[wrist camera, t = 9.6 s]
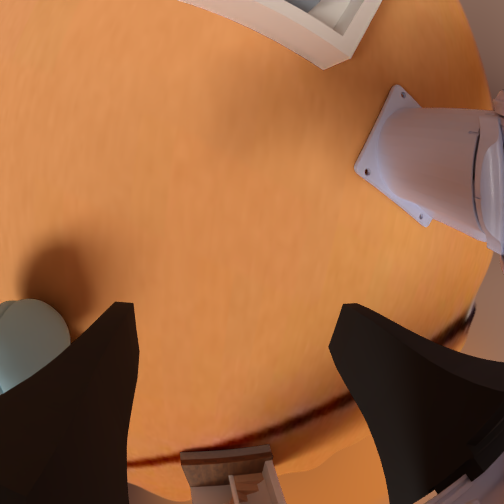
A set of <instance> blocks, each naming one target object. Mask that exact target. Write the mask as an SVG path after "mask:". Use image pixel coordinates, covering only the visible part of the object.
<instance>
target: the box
mask: <svg viewBox="0 0 504 504" xmlns="http://www.w3.org/2000/svg"><path fill="white" fill-rule="evenodd" d="M178 1H181V2H184V3H188V4H191V5H194V6H196V7H199V8H202V9H205V10H208V11H210V12H213V13H215V14H218V15H221V16H223V17H225V18H228V19H230V20H232V21H235V22H237V23H239V24H242V25H244V26H246V27H248V28H250V29H252V30H254V31H256V32H258V33H260V34H262V35H264V36H266V37H268V38H270V39H272V40H274V41H276V42H278V43H279V44H281V45H283V46H285V47H287V48H288V49H290V50H292V51H293V52H295V53H297V54H298V55H300V56H302V57H303V58H305V59H307V60H308V61H310V62H311V63H313V64H314V65H316V66H318V67H319V68H321V69H322V70H325V69H327V68H330V67H332V66H334V65H337V64H339V63H341V62H344V61H346V60H348V59H351V57H352V55H353V54H354V52H355V50H356V48H357V46H358V44H359V42H360V41H361V39H362V37H363V35H364V33H365V31H366V29H367V28H368V26H369V24H370V22H371V20H372V18H373V17H374V15H375V13H376V11H377V9H378V7H379V6H380V4H381V2H382V0H178Z"/></svg>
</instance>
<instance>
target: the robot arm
mask: <svg viewBox="0 0 504 504" xmlns="http://www.w3.org/2000/svg"><path fill="white" fill-rule="evenodd" d="M401 93H402V95H403V98H402V96H401ZM493 105H494V108H495V110H494V111H490V110H479V109H463V108H422V107H421V106H420V105H419V104H418V103H417V102H416V101H415V100H414V99H413V98H412V97H411V96H410V95H409V94H408V93H407V92H406V91H405V90H404V89H403V88H402V87H401V86H400V85H394V86H392V88H391V90H390V93H389V95H388V97H387V99H386V101H385V103H384V106H383V108H382V110H381V112H380V114H379V116H378V118H377V120H376V122H375V125H374V127H373V129H372V131H371V133H370V135H369V137H368V139H367V141H366V143H365V145H364V147H363V149H362V151H361V153H360V155H359V157H358V159H357V161H356V163H355V165H354V170H355V172H356V173H357V174H358V175H359V176H361V177H362V178H363V179H365V180H366V181H368V182H369V183H370V184H372V185H373V186H374V187H376V188H377V189H378V190H379V191H381V192H382V193H383V194H385V195H386V196H387V197H388V198H390V199H391V200H392V201H393V202H395V203H396V204H397V205H398V206H400V207H401V208H402V209H403V210H404V211H406V212H407V213H408V214H409V215H410V216H412V217H413V218H414V219H415V220H416V221H417V222H419V223H420V224H421V225H422V226H424V227H427V226H429V224H430V222H431V220H432V218H433V219H435V220H437V221H439V222H442V223H444V224H446V225H448V226H450V227H452V228H454V229H457V230H459V231H461V232H463V233H465V234H467V235H469V236H471V237H473V238H475V239H477V240H480V241H483V242H487V248H489V249H491V250H493V251H494V252H497V253H498V254H500V265H501V269H502V271H503V274H504V90H500V92H499V93H498V95H497V97H496V98H494V99H493ZM366 169H367V170H368V172H367V174H366V175H365V170H366ZM419 216H420V217H419ZM328 347H329V350H330V353H331V355H332V358H333V361H334V363H335V366H336V368H337V370H338V372H339V374H340V375H341V377H342V379H343V381H344V383H345V384H346V386H347V388H348V389H349V391H350V393H351V395H352V396H353V398H354V400H355V402H356V403H357V405H358V407H359V408H360V410H361V412H362V414H363V416H364V418H365V420H366V422H367V424H368V427H369V429H370V432H371V434H372V437H373V439H374V442H375V445H376V447H377V451H378V453H379V456H380V459H381V463H382V467H383V470H384V474H385V478H386V484H387V489H388V495H389V502H390V504H413V503H415V502H417V501H418V500H420V499H421V498H423V497H424V496H426V495H428V494H429V493H431V492H432V491H433V490H435V491H436V492H437V494H438V495H437V496H435V497H433V498H432V499H430V500H429V501H427V502H426V503H425V504H504V362H496V361H491V360H486V359H481V358H477V357H473V356H470V355H466V354H463V353H460V352H457V351H454V350H452V349H449V348H446V347H444V346H441V345H439V344H437V343H434V342H432V341H430V340H428V339H426V338H424V337H422V336H420V335H418V334H416V333H414V332H412V331H410V330H408V329H406V328H404V327H402V326H401V325H399V324H397V323H395V322H393V321H391V320H390V319H388V318H386V317H384V316H382V315H380V314H378V313H377V312H375V311H373V310H371V309H369V308H367V307H364V306H362V305H360V304H357V303H351V304H343V306H342V309H341V312H340V315H339V318H338V321H337V324H336V327H335V330H334V333H333V335H332V338H331V341H330V344H329V346H328ZM139 352H140V351H139V345H138V338H137V330H136V322H135V313H134V304H133V303H126V302H115V303H114V304H112V305H111V306H110V307H109V308H108V309H107V310H106V311H105V312H104V313H103V314H102V315H101V316H100V317H99V318H98V319H97V320H96V321H95V322H94V323H93V324H92V325H91V326H90V327H89V328H88V329H87V330H86V331H85V332H84V333H83V334H82V335H81V336H80V337H79V338H77V339H76V340H75V341H74V342H73V343H72V344H71V345H70V346H68V347H67V348H66V349H65V350H64V351H63V352H62V353H61V354H59V355H58V356H57V357H56V358H55V359H53V360H52V361H51V362H50V363H48V364H47V365H46V366H44V367H43V368H42V369H40V370H39V371H38V372H36V373H35V374H33V375H32V376H31V377H29V378H27V379H26V380H24V381H23V382H21V383H19V384H18V385H16V386H15V387H13V388H11V389H10V390H8V391H6V392H5V393H3V394H1V395H0V504H129V499H128V486H127V437H128V429H129V422H130V416H131V410H132V404H133V399H134V393H135V388H136V383H137V376H138V364H139Z"/></svg>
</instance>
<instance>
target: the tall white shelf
mask: <svg viewBox="0 0 504 504" xmlns="http://www.w3.org/2000/svg"><path fill="white" fill-rule="evenodd" d="M180 457H181V466H182V469H183V471H184V473H185V476H186V478H187V480H188V483H189V485H190V488H191V496H192V503H193V504H286V502H285V499H284V496H283V493H282V490H281V487H280V483H279V481H278V477H277V474H276V471H275V468H274V465H273V461H272V459H273V455H272V452H271V448H270V445H269V444H268V445H261V446H255V447H247V448H239V449H230V450H218V451H203V452H180Z"/></svg>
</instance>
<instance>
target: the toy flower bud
mask: <svg viewBox="0 0 504 504" xmlns="http://www.w3.org/2000/svg"><path fill="white" fill-rule="evenodd" d="M68 346H70V334H69V330H68V327H67V324H66V322H65V321H64V319H63V318H62V316H61V315H60V314H59V313H58V312H57V311H56V310H55V309H54V308H53V307H51V306H50V305H48V304H47V303H45V302H43V301H40V300H37V299H22V300H19V301H6V302H3V303H1V304H0V395H1V394H3V393H5V392H6V391H8V390H10V389H11V388H13V387H15V386H16V385H18V384H19V383H21V382H23V381H24V380H26V379H27V378H29V377H31V376H32V375H33V374H35V373H36V372H38V371H39V370H40V369H42V368H43V367H44V366H46V365H47V364H48V363H50V362H51V361H52V360H53V359H55V358H56V357H57V356H58V355H59V354H61V353H62V352H63V351H64V350H65V349H66V348H67V347H68Z"/></svg>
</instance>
